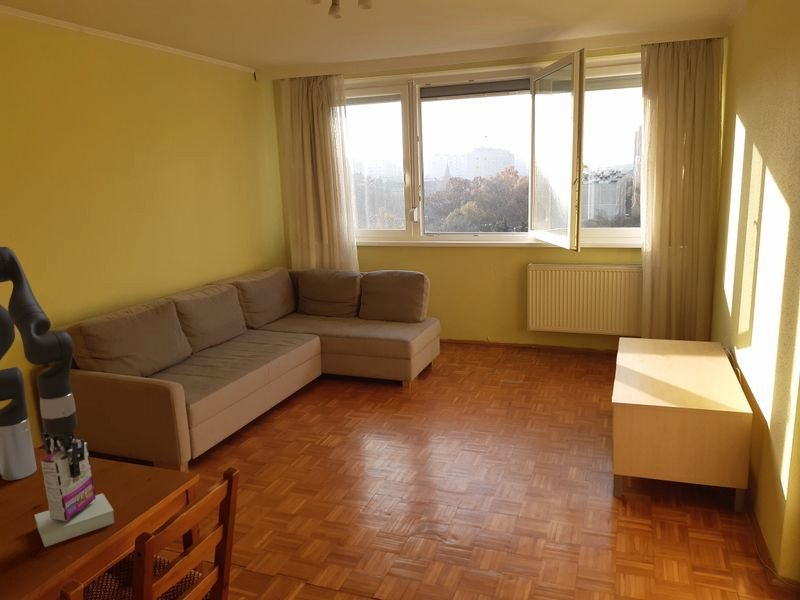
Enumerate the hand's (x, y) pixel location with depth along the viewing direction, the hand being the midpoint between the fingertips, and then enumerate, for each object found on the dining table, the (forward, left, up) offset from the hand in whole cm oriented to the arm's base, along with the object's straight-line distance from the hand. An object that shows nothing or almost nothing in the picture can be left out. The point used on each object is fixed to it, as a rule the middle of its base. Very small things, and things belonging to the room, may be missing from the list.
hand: (67, 473), depth 157 cm
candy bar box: (0, 0, -10) cm, 10 cm away
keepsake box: (0, 0, -15) cm, 15 cm away
